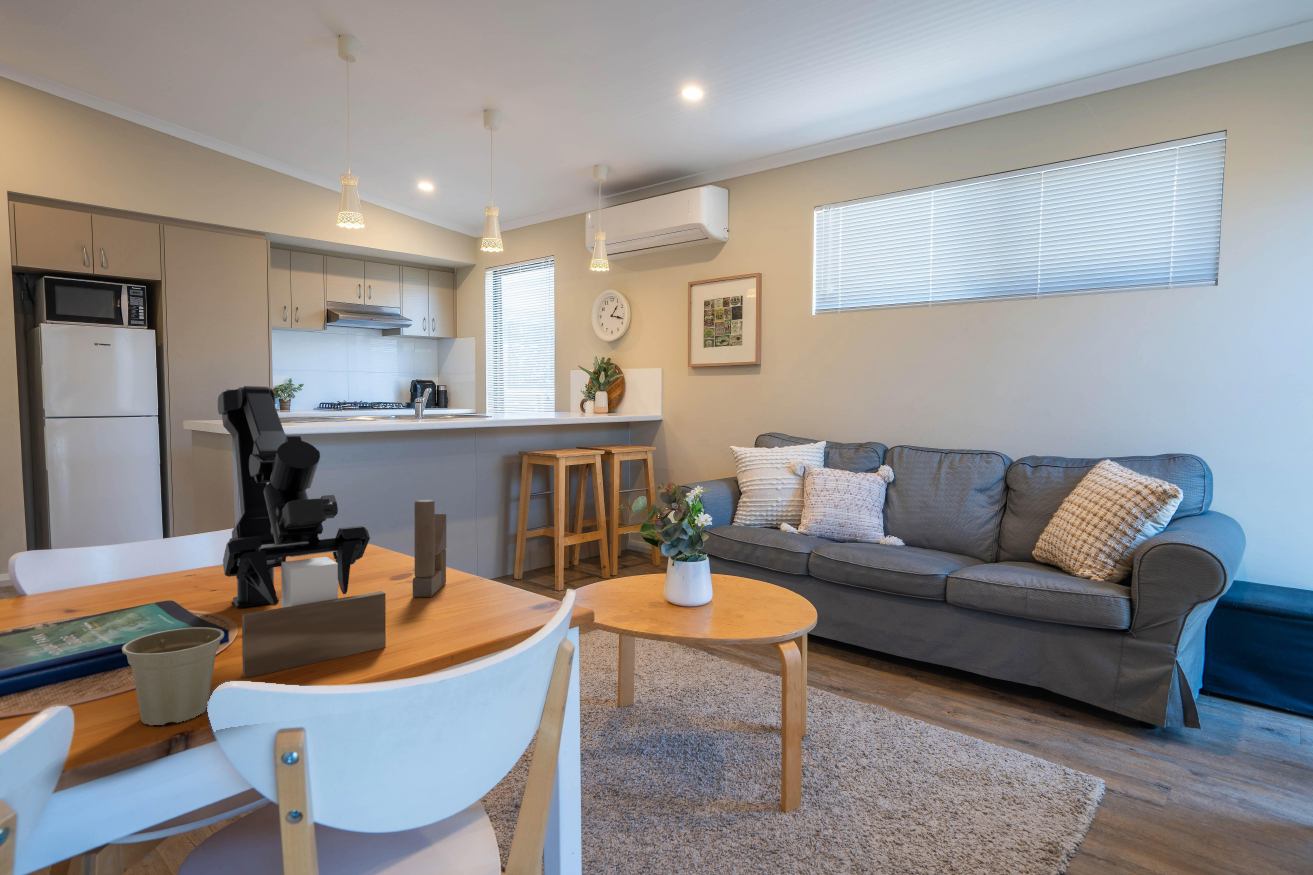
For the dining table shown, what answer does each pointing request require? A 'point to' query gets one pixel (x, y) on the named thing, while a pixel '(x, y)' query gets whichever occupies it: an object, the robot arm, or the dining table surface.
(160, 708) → the flower pot
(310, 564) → the white notched pillar
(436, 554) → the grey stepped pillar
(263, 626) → the wall board
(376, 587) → the dining table surface
